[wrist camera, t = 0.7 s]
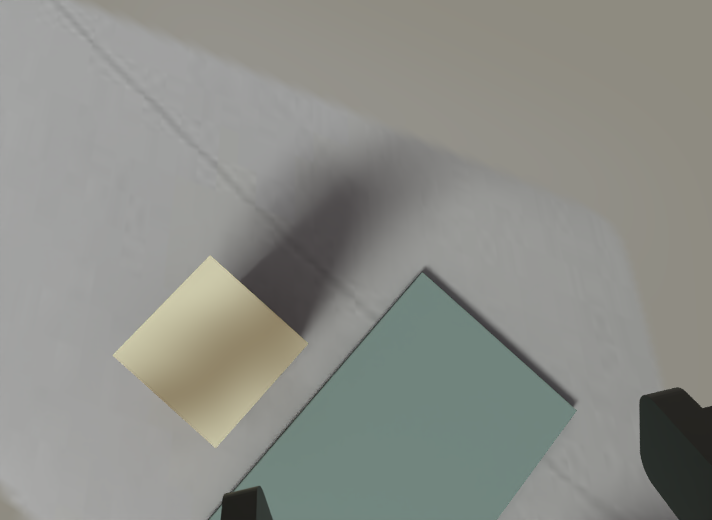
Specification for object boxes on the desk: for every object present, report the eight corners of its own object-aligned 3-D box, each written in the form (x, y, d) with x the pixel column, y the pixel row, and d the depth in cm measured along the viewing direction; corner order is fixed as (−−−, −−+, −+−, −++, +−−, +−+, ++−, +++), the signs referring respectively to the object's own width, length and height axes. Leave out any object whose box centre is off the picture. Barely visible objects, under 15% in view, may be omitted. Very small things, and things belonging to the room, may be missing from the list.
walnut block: (160, 362, 35) (112, 355, 23) (224, 294, 36) (210, 255, 24) (229, 424, 35) (215, 448, 23) (291, 354, 36) (308, 343, 24)
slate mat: (204, 523, 34) (203, 526, 33) (419, 273, 38) (422, 272, 37) (375, 677, 34) (377, 682, 33) (571, 410, 38) (576, 410, 37)
